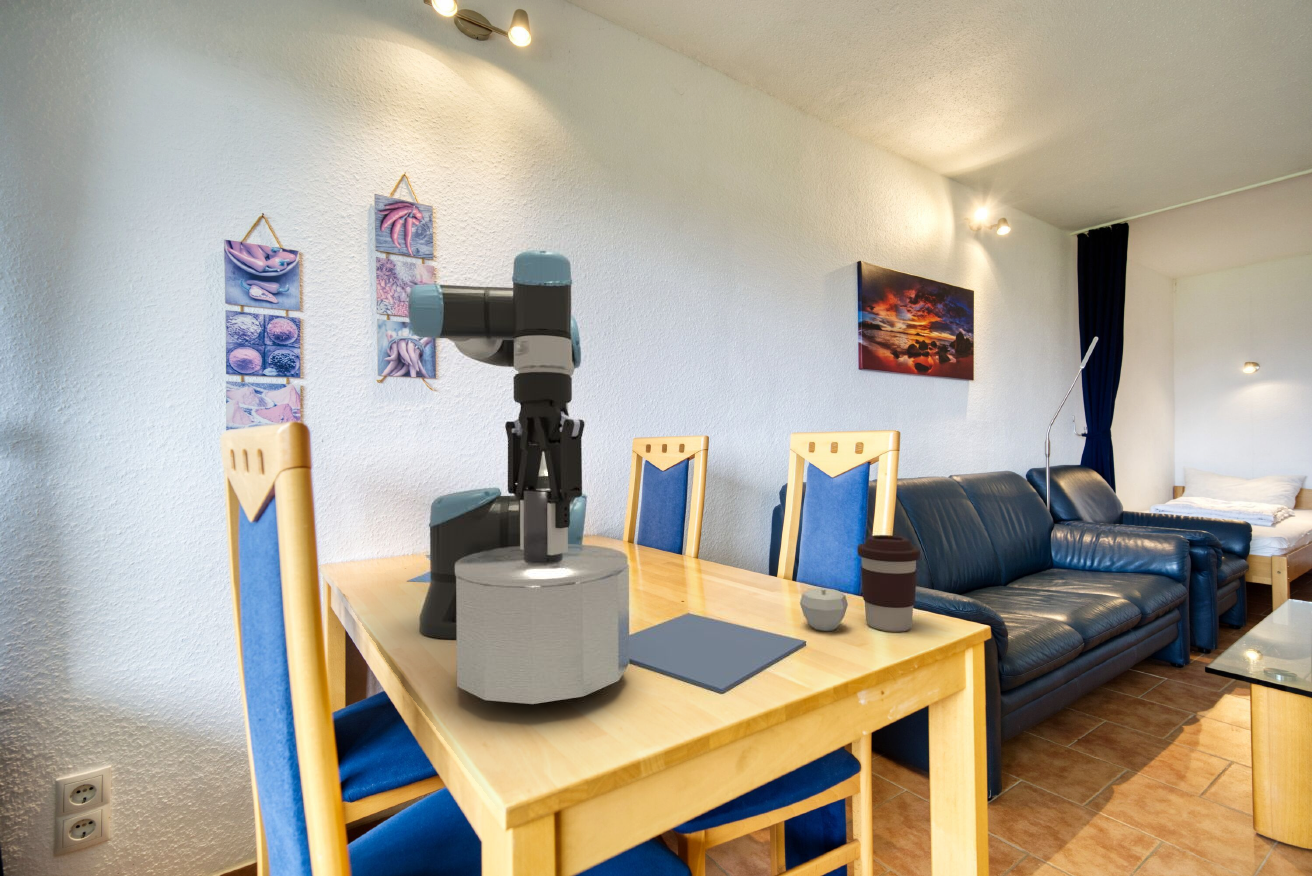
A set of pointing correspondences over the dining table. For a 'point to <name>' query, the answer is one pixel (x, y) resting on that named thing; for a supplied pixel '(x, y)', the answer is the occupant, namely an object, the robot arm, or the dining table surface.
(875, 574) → the coffee cup
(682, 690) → the dining table surface
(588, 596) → the cake dome
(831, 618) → the grey faceted round piece
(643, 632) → the mat
